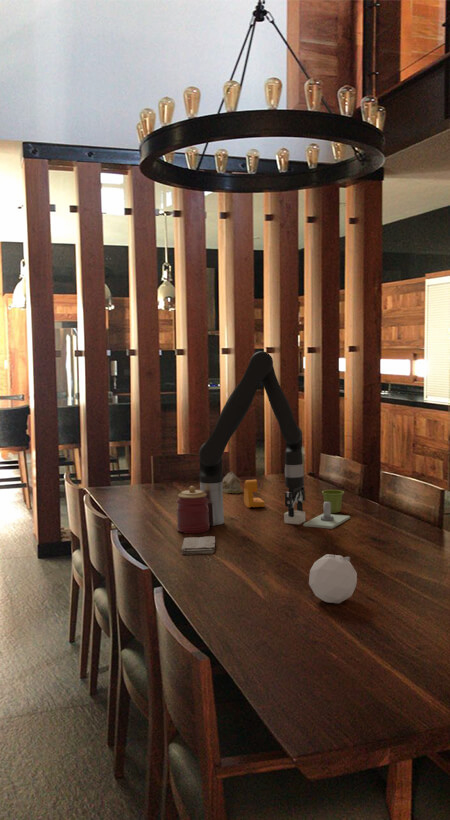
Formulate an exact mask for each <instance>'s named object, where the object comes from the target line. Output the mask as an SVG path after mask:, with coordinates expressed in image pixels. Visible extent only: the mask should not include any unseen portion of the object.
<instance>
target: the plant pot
mask: <svg viewBox="0 0 450 820" xmlns="http://www.w3.org/2000/svg"><path fill="white" fill-rule="evenodd" d="M321 494H322V496H323V501H324V502H330V507H331V514H337V513H340V512H341V509H342V501H343V500H342V499H343V495H344V494H345V491H343V490H341V489H340V490H339V489H326V490H322V491H321Z"/></svg>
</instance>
